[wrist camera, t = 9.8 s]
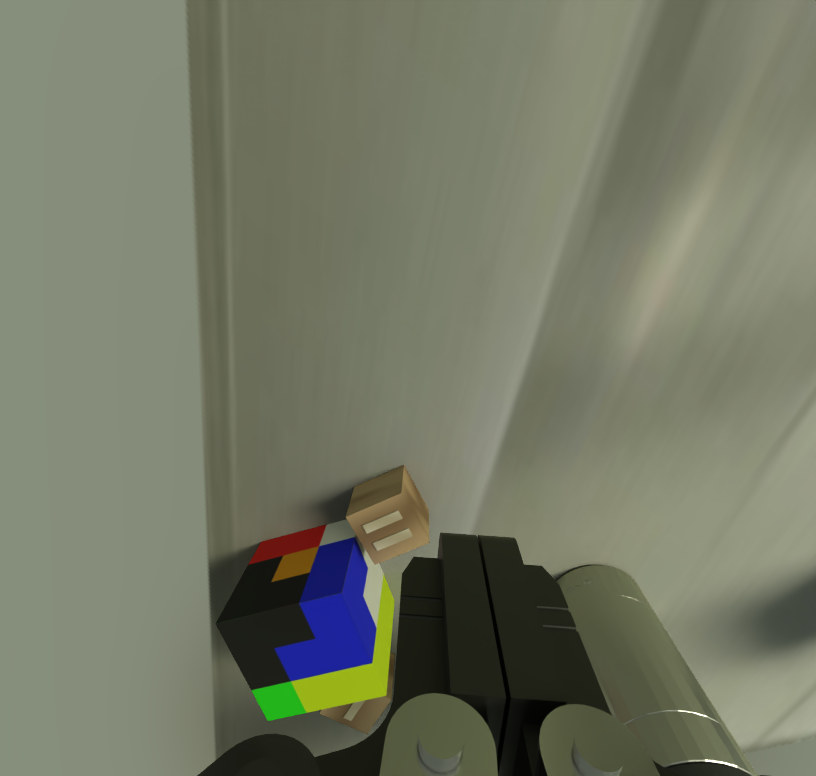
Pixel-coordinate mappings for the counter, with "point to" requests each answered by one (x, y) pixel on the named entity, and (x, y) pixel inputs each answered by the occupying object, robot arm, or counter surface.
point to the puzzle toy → (311, 622)
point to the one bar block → (363, 707)
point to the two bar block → (389, 515)
